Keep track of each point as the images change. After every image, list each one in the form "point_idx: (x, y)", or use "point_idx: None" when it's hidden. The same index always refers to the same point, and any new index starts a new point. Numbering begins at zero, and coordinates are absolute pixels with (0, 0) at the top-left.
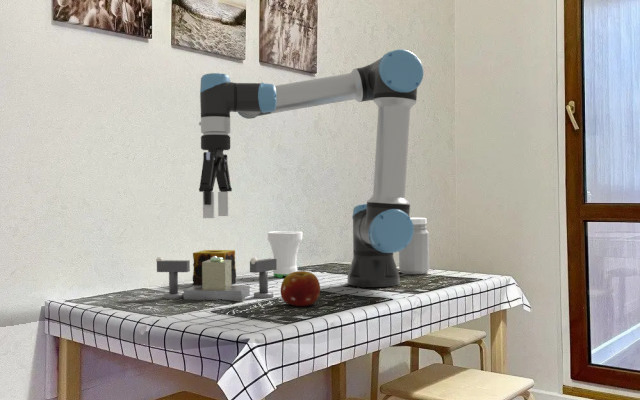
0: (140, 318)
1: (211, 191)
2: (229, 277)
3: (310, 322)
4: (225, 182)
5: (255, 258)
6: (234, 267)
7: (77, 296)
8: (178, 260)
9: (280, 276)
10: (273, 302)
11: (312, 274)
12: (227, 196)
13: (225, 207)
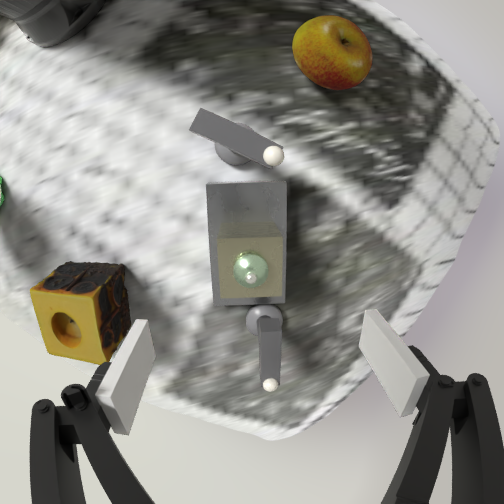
0: (429, 290)
1: (442, 376)
2: (238, 227)
3: (442, 59)
4: (118, 451)
5: (279, 150)
6: (54, 274)
7: (259, 431)
8: (263, 353)
9: (3, 196)
10: (298, 112)
11: (342, 19)
12: (119, 379)
13: (139, 351)
